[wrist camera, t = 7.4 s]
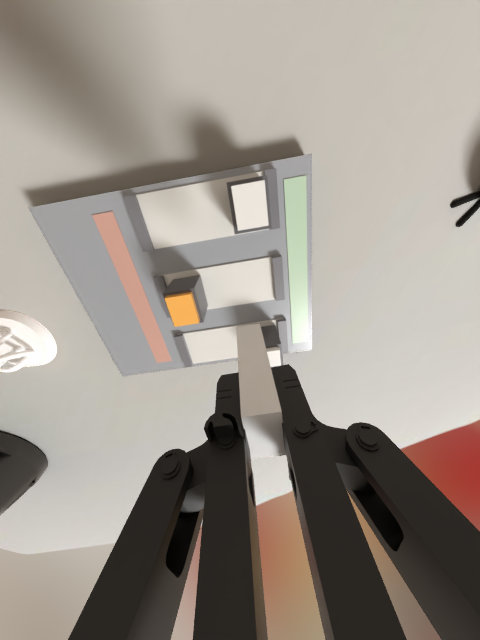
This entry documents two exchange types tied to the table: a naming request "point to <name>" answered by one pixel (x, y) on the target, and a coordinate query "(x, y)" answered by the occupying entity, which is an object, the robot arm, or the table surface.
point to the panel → (188, 264)
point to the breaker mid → (186, 301)
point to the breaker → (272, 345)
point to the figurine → (24, 341)
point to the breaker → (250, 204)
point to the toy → (472, 210)
